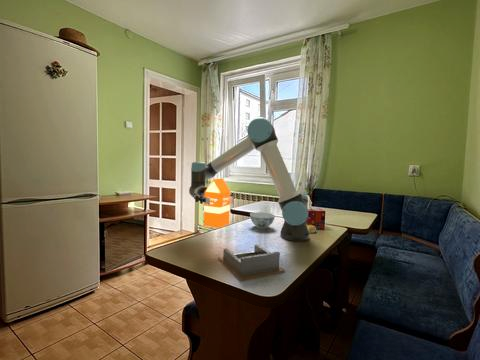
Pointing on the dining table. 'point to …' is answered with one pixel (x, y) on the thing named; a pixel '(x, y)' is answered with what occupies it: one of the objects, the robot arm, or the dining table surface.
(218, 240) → the dining table surface
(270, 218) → the chinaware
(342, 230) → the dining table surface
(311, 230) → the bread roll
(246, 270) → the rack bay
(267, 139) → the robot arm
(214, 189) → the orange juice
